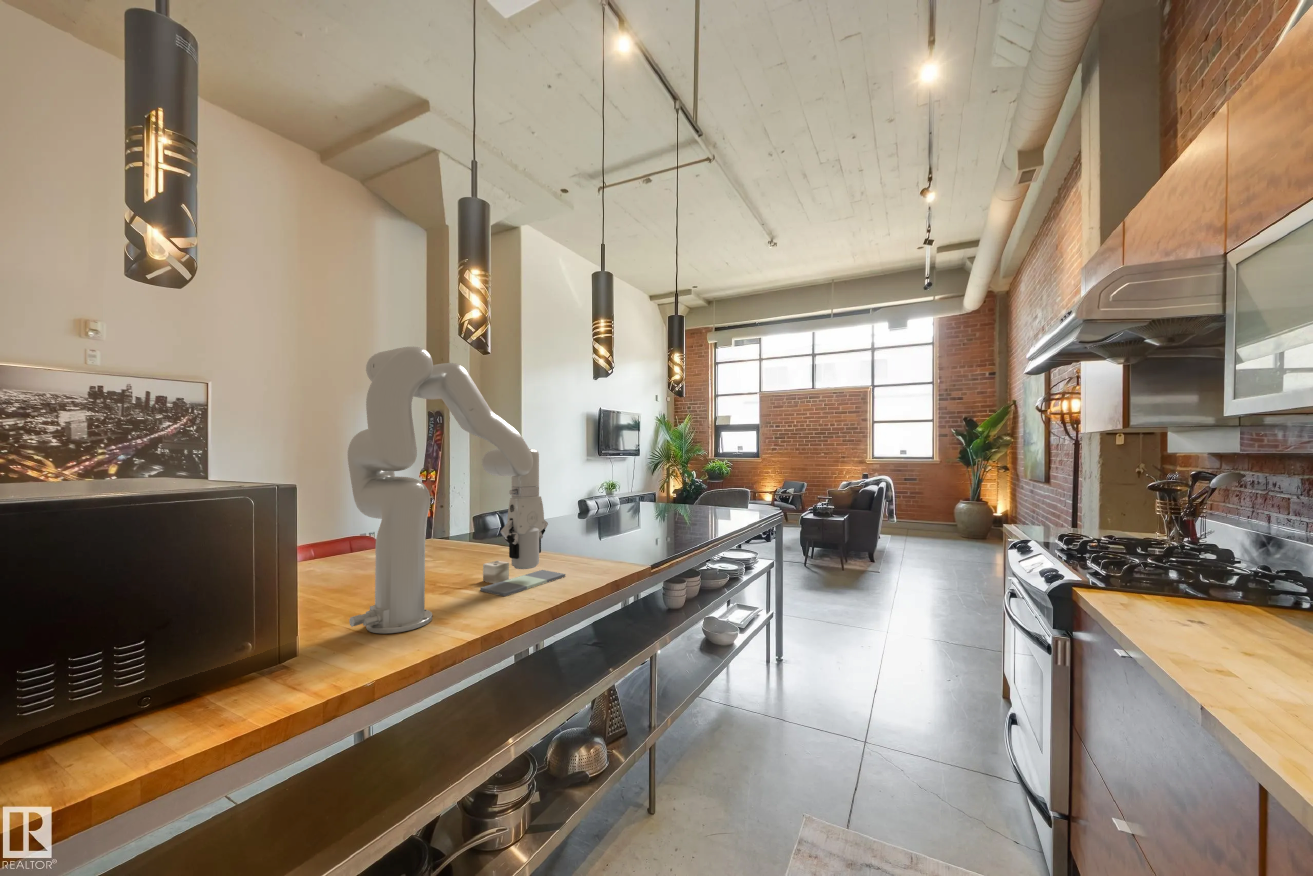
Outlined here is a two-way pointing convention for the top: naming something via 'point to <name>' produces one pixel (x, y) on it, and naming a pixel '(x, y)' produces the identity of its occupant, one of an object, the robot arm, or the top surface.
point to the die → (495, 572)
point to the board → (521, 582)
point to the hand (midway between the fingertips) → (525, 554)
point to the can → (528, 549)
